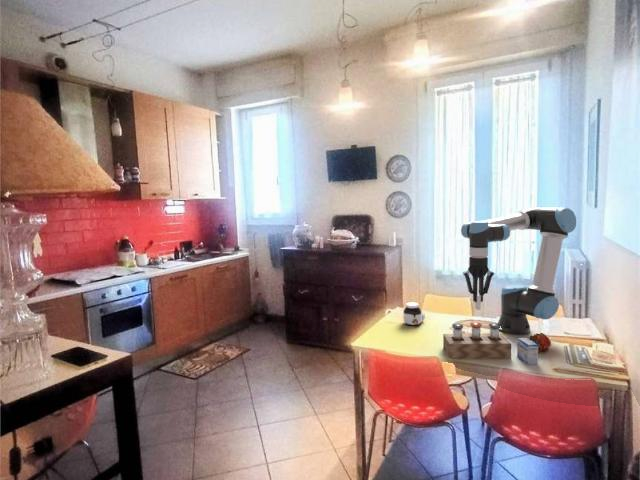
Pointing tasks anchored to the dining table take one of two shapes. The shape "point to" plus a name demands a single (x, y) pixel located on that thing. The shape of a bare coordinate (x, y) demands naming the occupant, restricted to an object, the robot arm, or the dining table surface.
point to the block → (477, 347)
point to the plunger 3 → (494, 331)
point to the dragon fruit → (541, 341)
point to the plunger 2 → (475, 331)
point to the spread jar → (413, 314)
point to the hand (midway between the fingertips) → (477, 308)
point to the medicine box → (527, 351)
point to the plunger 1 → (457, 331)
